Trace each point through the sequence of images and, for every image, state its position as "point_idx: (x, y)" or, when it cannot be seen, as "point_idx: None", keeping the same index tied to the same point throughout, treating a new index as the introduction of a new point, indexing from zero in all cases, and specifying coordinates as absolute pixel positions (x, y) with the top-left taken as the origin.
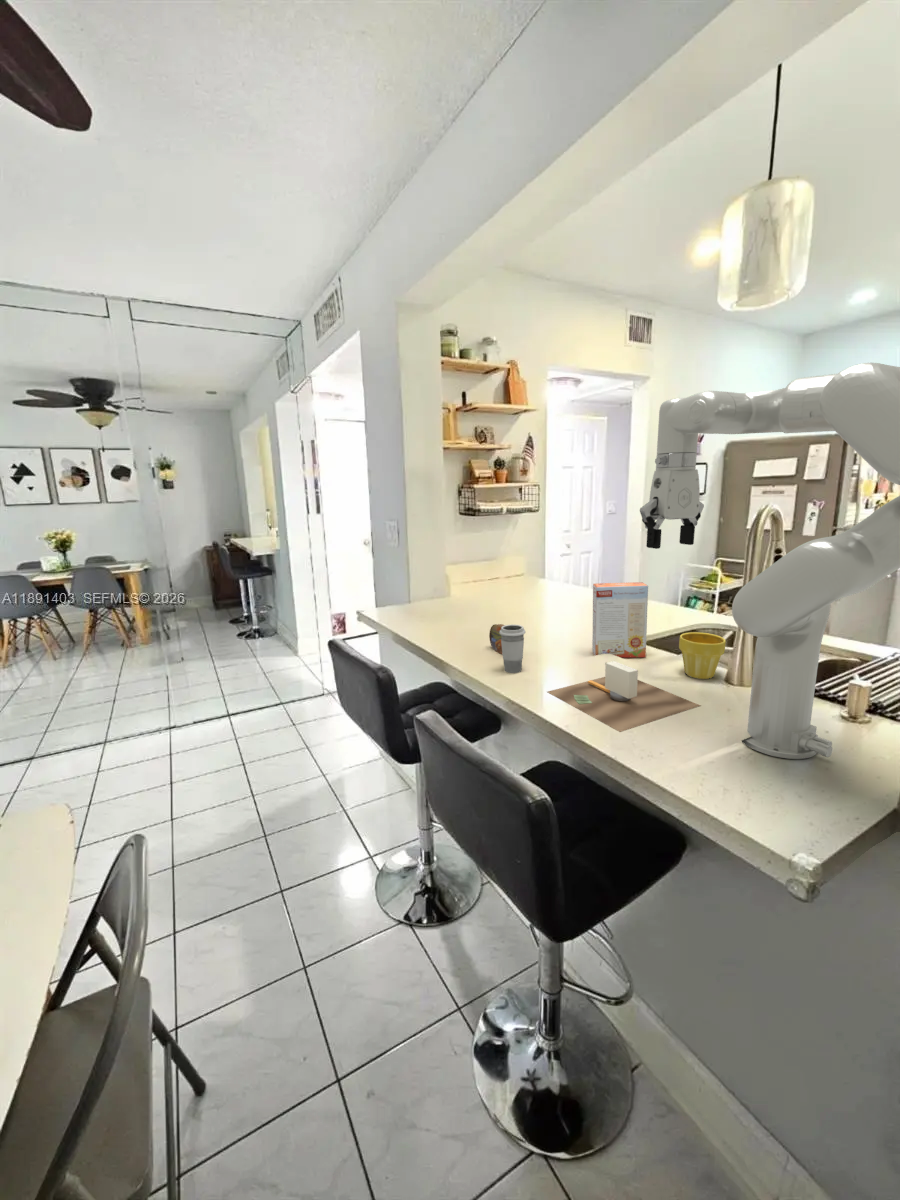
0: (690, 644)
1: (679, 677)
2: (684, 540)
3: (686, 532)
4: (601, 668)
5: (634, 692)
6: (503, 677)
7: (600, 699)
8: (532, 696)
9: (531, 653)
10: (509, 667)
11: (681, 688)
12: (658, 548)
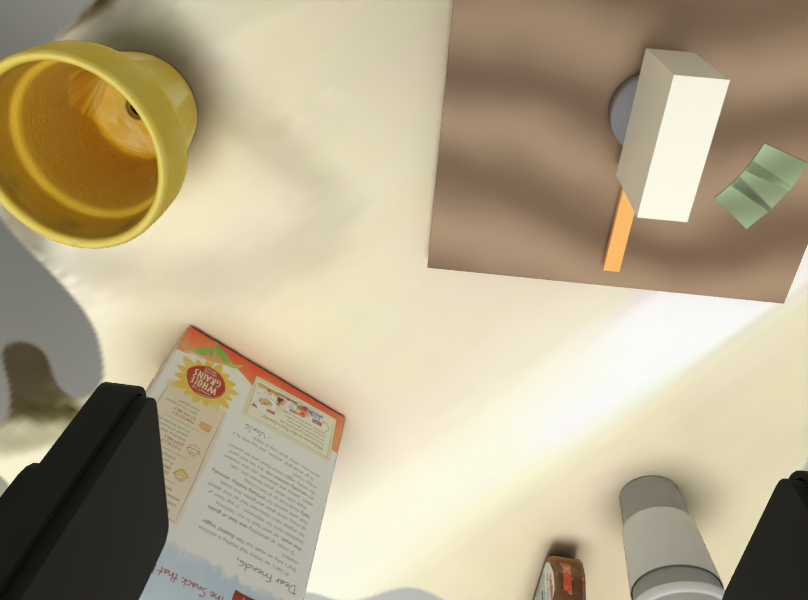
0: (169, 150)
1: (237, 134)
2: (143, 511)
3: (87, 597)
4: (404, 351)
5: (665, 53)
6: (723, 474)
7: (712, 146)
8: (797, 325)
9: (482, 552)
10: (683, 502)
11: (323, 59)
12: (806, 475)
